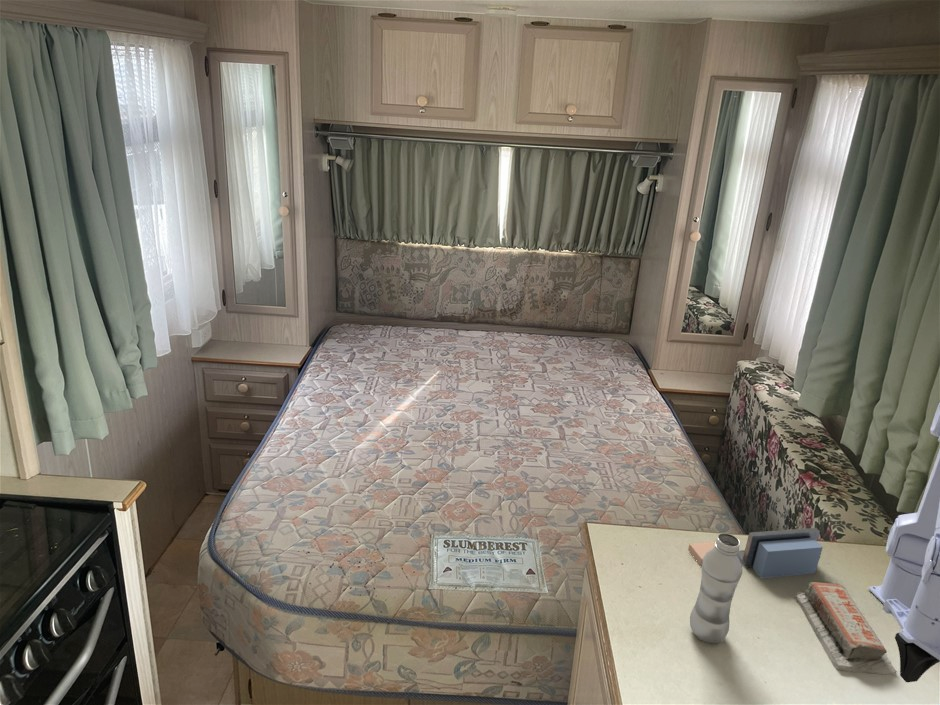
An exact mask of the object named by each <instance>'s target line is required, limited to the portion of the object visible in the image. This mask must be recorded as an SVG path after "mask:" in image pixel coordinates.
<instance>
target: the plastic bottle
mask: <svg viewBox="0 0 940 705" xmlns="http://www.w3.org/2000/svg"><path fill="white" fill-rule="evenodd" d="M715 541H716V542H715V548H713V549H711V550H709V551H708V552H707V553H706V554H705V556H704V557H703V561H702V566H701V580H700V584H699V585H700V586H699V592H698V595H697V598H696V601H695V603H694V606H693V607H692V609H691V611H690V615H689V626H690V629H691V630H692V633H693V634H694V635H695V637H697V638H698V639H699V640H701V641H703V642H706V643H709V644H718V643H721V642H722V641H724V640H725V639H726V637H727V635H728V634H729V630H730V613H731V606H732V601H733V598H734V594H735V591H736V589H737V586H738V584H739V582H740V580H741V578H742V575H743V564H742V563H741V562H740V559H739V557H738V556H737V554H738V553H739V551H740V547H741V541H740V539H739V538H738V537H737V536H735V535H734V534H731V533H727V532H721V533H719V534H718V535H717V537H716V539H715Z"/></svg>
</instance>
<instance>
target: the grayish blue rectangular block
mask: <svg viewBox="0 0 940 705" xmlns="http://www.w3.org/2000/svg"><path fill="white" fill-rule="evenodd" d="M823 548H824V546H822V545H821V544H820V543H819V542H818V540H817V541H816V540H815V539H814V538H805V539H792V540H778V541H765V542H759V545H758V549H757V553H756V557H755V561H754V565H753V567H752V569H753V570H754V572H755V573H756V574H757V576H758V577H759V578H760V579H766V578H778V577H789V576H800V575H801V576H803V575H814V574H816V572H817V568H818V565H819V562H820V558H821V555H822V552H823Z"/></svg>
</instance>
